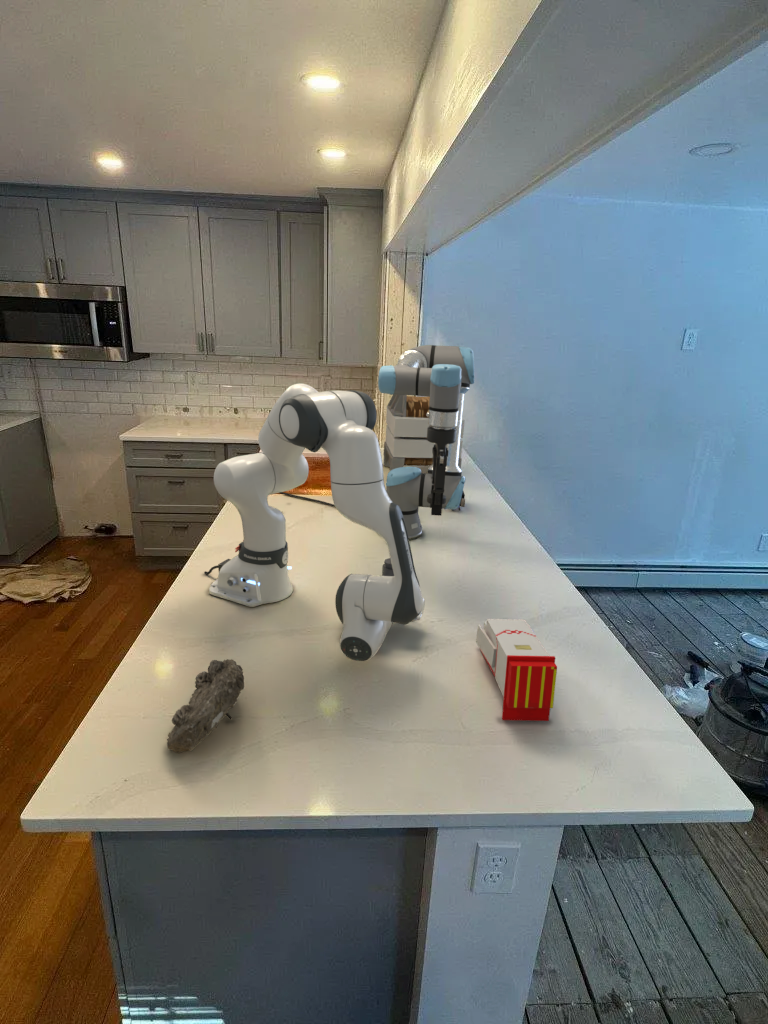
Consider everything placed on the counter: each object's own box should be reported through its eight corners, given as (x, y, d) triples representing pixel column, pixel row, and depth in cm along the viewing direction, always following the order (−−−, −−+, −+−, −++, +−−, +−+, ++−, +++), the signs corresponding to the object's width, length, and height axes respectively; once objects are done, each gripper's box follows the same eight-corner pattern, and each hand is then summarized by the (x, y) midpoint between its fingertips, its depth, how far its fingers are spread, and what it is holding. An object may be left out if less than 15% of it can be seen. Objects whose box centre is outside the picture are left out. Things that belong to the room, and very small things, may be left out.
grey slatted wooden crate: (382, 463, 289) (386, 382, 275) (445, 464, 293) (451, 384, 279) (390, 482, 257) (394, 392, 243) (460, 483, 261) (468, 394, 247)
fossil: (192, 660, 117) (244, 628, 112) (224, 691, 120) (276, 661, 115) (142, 746, 98) (202, 712, 93) (182, 779, 101) (242, 748, 96)
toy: (523, 604, 135) (566, 662, 106) (518, 656, 138) (559, 727, 109) (472, 603, 135) (501, 661, 105) (468, 655, 138) (496, 726, 108)
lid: (449, 502, 153) (450, 497, 152) (436, 506, 150) (436, 500, 149) (436, 497, 156) (436, 492, 156) (422, 501, 153) (423, 495, 153)
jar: (380, 607, 150) (383, 556, 145) (397, 608, 150) (400, 557, 145) (379, 616, 146) (382, 564, 141) (397, 617, 146) (400, 565, 141)
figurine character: (465, 515, 224) (460, 499, 237) (467, 498, 221) (462, 483, 234) (448, 515, 224) (444, 499, 237) (450, 498, 220) (445, 482, 234)
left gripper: (419, 609, 130) (431, 583, 143) (336, 595, 135) (353, 571, 148) (418, 633, 133) (429, 605, 145) (335, 618, 137) (353, 593, 150)
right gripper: (426, 419, 154) (420, 499, 163) (429, 433, 138) (422, 522, 146) (453, 420, 154) (446, 501, 162) (460, 434, 137) (452, 524, 146)
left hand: (390, 588), depth 147 cm, fingers closed on jar, 4 cm apart
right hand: (435, 511), depth 154 cm, fingers closed on lid, 5 cm apart
